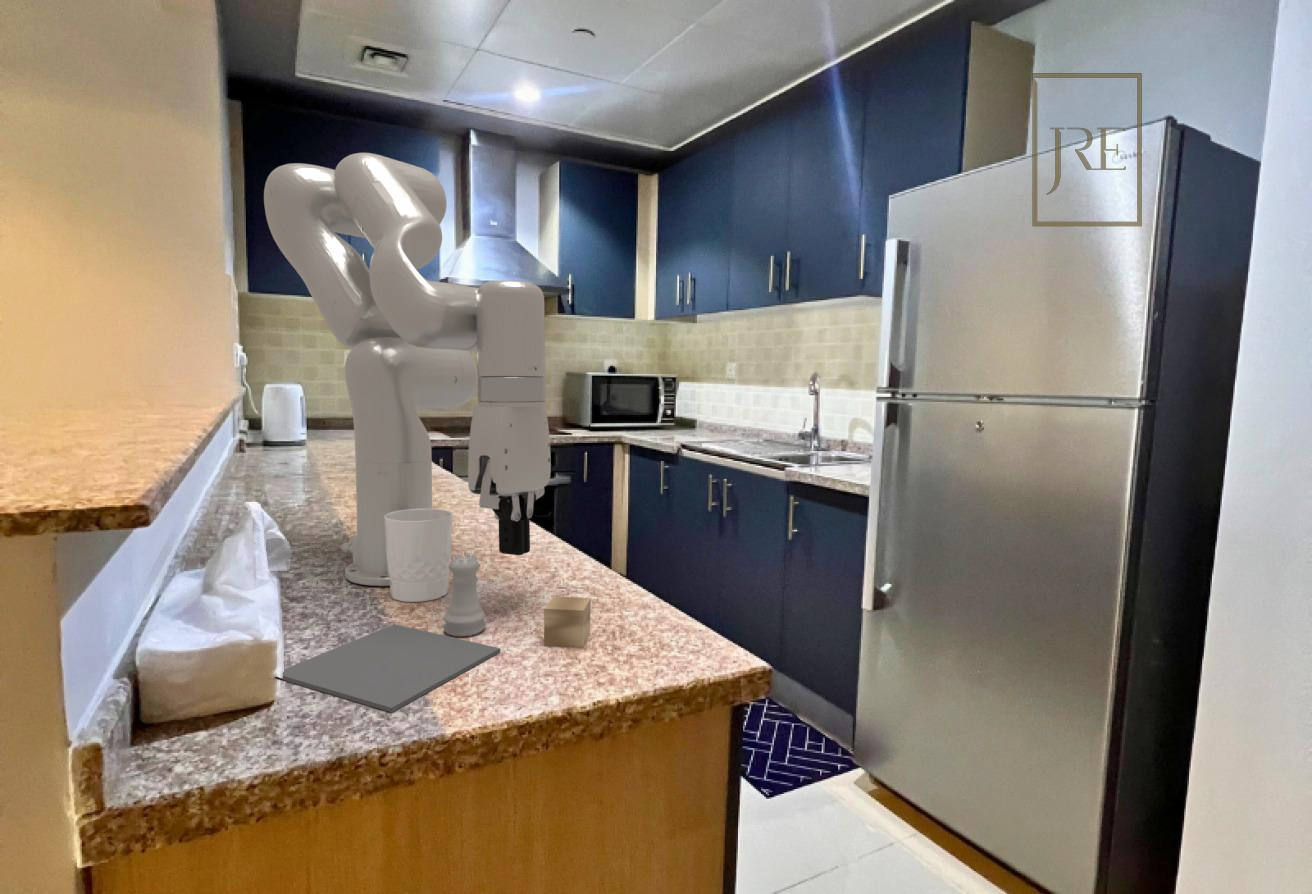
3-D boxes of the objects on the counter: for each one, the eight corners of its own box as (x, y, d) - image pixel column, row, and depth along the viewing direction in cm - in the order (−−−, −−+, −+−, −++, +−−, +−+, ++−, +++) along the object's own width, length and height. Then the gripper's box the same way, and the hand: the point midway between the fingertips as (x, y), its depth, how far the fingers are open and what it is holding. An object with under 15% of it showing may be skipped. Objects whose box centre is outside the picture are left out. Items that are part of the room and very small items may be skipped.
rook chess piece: (474, 640, 72) (474, 564, 71) (434, 636, 73) (434, 560, 72) (493, 625, 76) (493, 553, 75) (455, 621, 77) (455, 550, 76)
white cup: (425, 608, 81) (424, 523, 80) (371, 599, 84) (369, 517, 83) (465, 589, 89) (465, 511, 88) (415, 581, 91) (413, 506, 90)
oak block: (543, 646, 71) (544, 608, 70) (553, 632, 75) (553, 596, 74) (582, 649, 70) (583, 610, 70) (590, 634, 74) (590, 598, 74)
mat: (274, 677, 62) (274, 673, 62) (394, 627, 75) (394, 624, 75) (391, 712, 56) (391, 707, 56) (500, 652, 69) (500, 648, 69)
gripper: (523, 392, 87) (526, 537, 89) (439, 394, 74) (444, 564, 76) (575, 393, 84) (576, 542, 86) (497, 394, 71) (500, 572, 72)
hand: (514, 552), depth 81 cm, fingers closed
